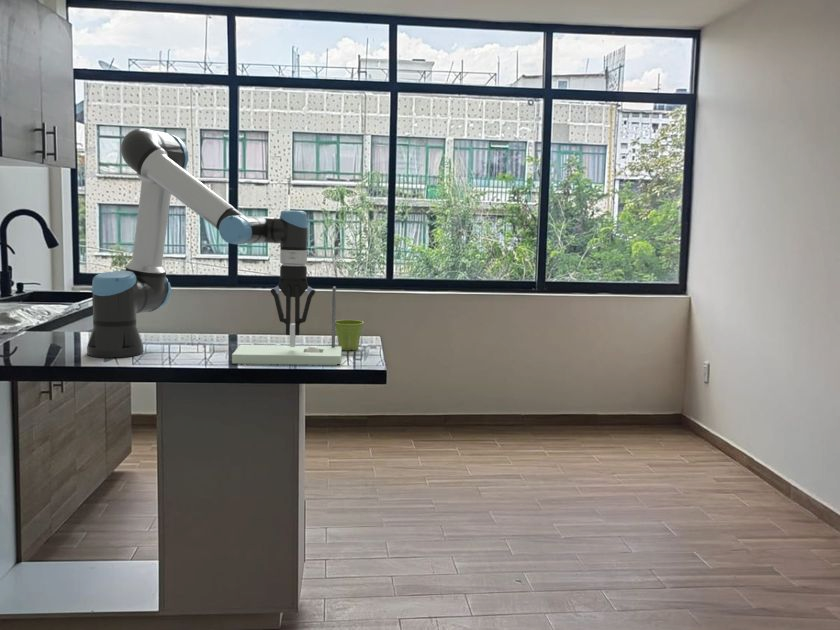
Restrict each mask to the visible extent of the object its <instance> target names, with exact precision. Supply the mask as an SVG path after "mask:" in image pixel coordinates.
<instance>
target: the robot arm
mask: <svg viewBox="0 0 840 630" xmlns="http://www.w3.org/2000/svg"><path fill="white" fill-rule="evenodd" d="M120 153H121V156H122V159H123V160H124V162H125V163H126V164H127V165H128V167H130V168H131V169H132V170H133V171H134V172H136V175H137V177H138V178H139V179H140V181H141V185H140V191H139V192H140V193H139V199H138V200H139V203H138V210H137V211H138V212H137V217H136V225H135V234H134V243H133V251H132V259H131V261H130V262H128V263H127V264H126V266H125V270H113V271H104V272H101V273H98V274H96V275H95V276H94V277H93V278H92V285H91V286H92V287H91V297H92V300H91V301H92V302H91V303H92V330H91V334H90V336H89V340H88V342H87V346H86V354H88V356H89V355H90V356H89V357H94V358H107V359H108V358H109V359H111V358H113V359H114V357H116V358H126V357H127V358H129V357H134V356H139V355H141V354H144V344H143V341H142V338H141V335H140V332H139V330H138V328H137V314H141V313H151V312H154V311H156V310H160V309H161V308H163V307H164V306H165V305H166V304H167V303H168V302H169V300H170V297H171V294H172V287H171V282H169V279H168V278H167V270H166V268H165V266H164V265H163V261H164V260H163V258H164V251H165V243H166V236H167V227H168V222H169V221H168V220H169V213H170V212H169V211H170V203H171V198H172V197H171V196H173V197H175V198H176V199H177V201H180V202H181V203H182V204H183V205H185V206H186V207H187V208H189V209H190V210H191V211H192V212H194V213H196V215H198V216H199V217H200V218H202V219H203V220H204V221H206V222H207V223H209V225H211V227H212V226H213V228H215V229H216V230H217V231H218V233H219V236H220V237H221V239H222V240H223V241H224V242H225V243H228V244H231V245H245V244H280V247H279V248H280V250H279V251H280V252H279V253H280V254H279V259H280V260H279V262H280V264H281V265H280V267H279V281H278V284H277V286H275V287H272V288H271V289H270V293H271V295H272V296H273V298H274V302H275V306H276V311H277V315H278V318H279V319H278V320H279V322H280V323H284V324H285V334H286V336H289V346H290V347H295V346H297V345H296V344H297V343H296V342H297V339H296V338H297V336H299V335H300V334H301V333H300V332H301V331H300V329H301V327H300V325H301V324H302V323H305V322H306V321H307V319H308V318H307V317H308V314H309V310H310V306H311V301H312V299H313V297H314V296H315V293H316V289H315V288H312V287H311V286H309V283H308V280H307V278H308V277H307V276H308V267H307V265H306V264H308V228H309V226H308V215H307V212H306V211H304V210H287V209H286V210H281V212H280V214H279V215H280V216H260V215H259V216H258V215H244V213H242V212H240V211H239V210H238V209H236V208H235V207H234V206H233V205H232V204H230V203H229V202H228V201H226V200H225V199H224V198H222V197H221V195H218V194H217V193H216V192H214V191H213V190H212V189H210V188H209V187H208V186H207V185H206V184H204V183H203V182H201V181H200V180H199V179H197V178H196V177H195V176H193V175H192V174H191V173H190V172H189V171H187V170H186V167H187V165H188V163H189V151H188V148H187V146H186V144H185V143H184V141H183V140H182V139H181V138H179V137H178V136H176V135H174V134H172V133H169V132H164V131H158V130H152V129H148V128H135V129H133V130H131V131H129V132H128V133H127V134H126V135H125V136H124V137H123V139H122V141H121V145H120ZM280 291H281V292H282V293H283V296H285V315H284V310H283V307H282V302H281V298H280V295H279V294H280ZM305 292H306V294H307V298H306V301H305V305H304V308H303V312H302V316H301V297H302V296H303V295H304V293H305ZM292 298H294V302H295V303H294V322H293V323H292Z"/></svg>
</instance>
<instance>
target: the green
mask: <svg viewBox="0 0 840 630" xmlns="http://www.w3.org/2000/svg"><path fill="white" fill-rule="evenodd" d="M336 293H337V287H336V286H333V287H332V293H331V294H332V295H331V296H332V298H331V300H332V301H331V303H332V304H331V345H315V346H316V347H317V348H318V349H319V351H320V353H316V352H306V350H307V348H308V347H310V346H311V345H296V346H295V347H290V345H281V344H280V345H279V344H277V345H276V344H275V345H274V344H273V345H272V344H240V345H239V346H238V347H237V348H236V349H235V351H234V352H233V353H232V354H231V363H232V364H246V365H247V364H249V365H250V364H251V365H252V364H254V365H257V364H258V365H263V364H264V365H314V366H315V365H317V366H319V365H320V366H321V365H322V366H323V365H324V366H326V365H327V366H338V365H337V364H342V363H341V362H342V354H343V353H342V351H343V350H342V346H338V345H337V346H336V327H335V321H336V310H337V309H336V306H337V304H336V303H337V302H336V301H337V300H336V299H337V297H336V296H337V294H336Z"/></svg>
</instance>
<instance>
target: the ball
mask: <svg viewBox="0 0 840 630" xmlns="http://www.w3.org/2000/svg"><path fill="white" fill-rule="evenodd" d="M309 346H310V347H308V348H307V350H306V352H316V353H320V351H319V349H318V348H317V347H316V346H317V345H309Z"/></svg>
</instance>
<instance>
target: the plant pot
mask: <svg viewBox="0 0 840 630" xmlns="http://www.w3.org/2000/svg"><path fill="white" fill-rule="evenodd" d="M363 325H364V321H363V320H357V319H356V320H355V319H340V320H339V319H338V320H335V332H336V337H337V344H338V345H337V346H342V351H346V350H348V351H351V350H352V351H357V350H359V345H360V339H361V332H362V329H363Z"/></svg>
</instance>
